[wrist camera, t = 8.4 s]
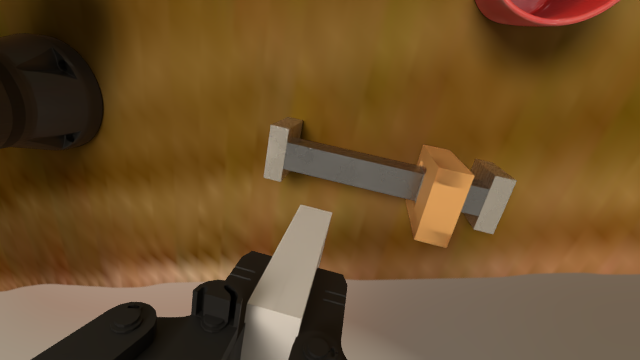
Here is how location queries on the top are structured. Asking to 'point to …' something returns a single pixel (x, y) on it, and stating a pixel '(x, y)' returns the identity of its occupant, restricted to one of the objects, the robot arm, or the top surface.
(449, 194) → the collar
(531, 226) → the top surface
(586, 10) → the flower pot
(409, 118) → the top surface
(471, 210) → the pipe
